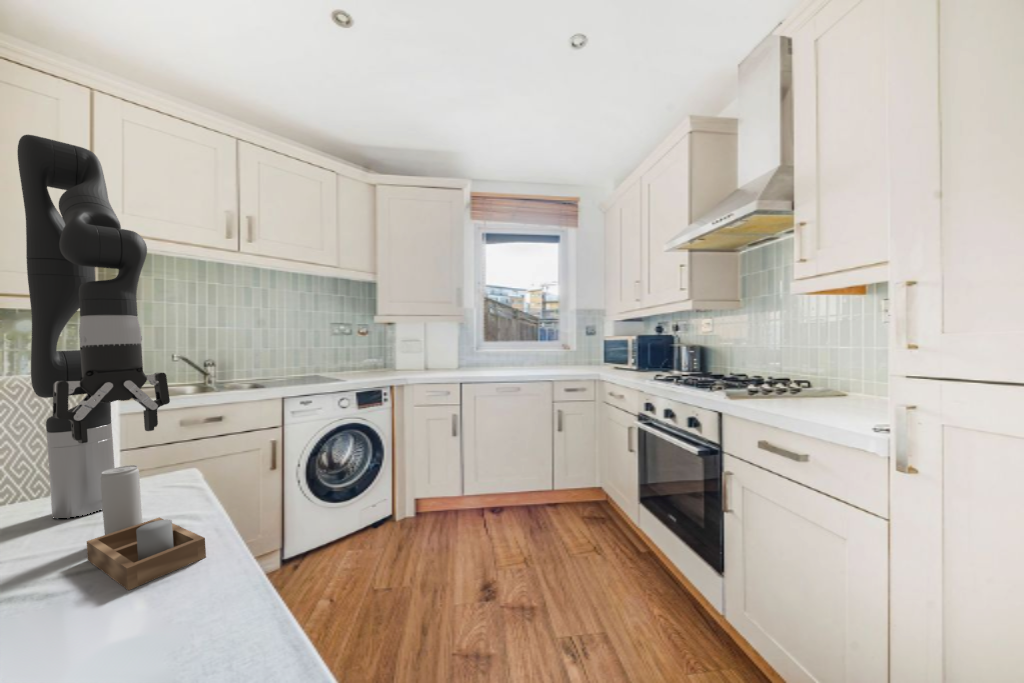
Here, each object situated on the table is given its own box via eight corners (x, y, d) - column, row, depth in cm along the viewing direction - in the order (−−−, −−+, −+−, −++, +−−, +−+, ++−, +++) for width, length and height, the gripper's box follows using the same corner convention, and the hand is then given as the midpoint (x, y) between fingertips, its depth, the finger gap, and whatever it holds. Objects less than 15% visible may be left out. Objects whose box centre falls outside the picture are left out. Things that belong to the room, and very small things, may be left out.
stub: (134, 568, 60) (131, 528, 60) (167, 555, 63) (165, 517, 63) (145, 575, 58) (142, 534, 58) (179, 561, 61) (176, 522, 61)
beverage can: (119, 546, 67) (114, 474, 67) (96, 544, 68) (92, 474, 68) (150, 532, 72) (146, 465, 72) (129, 530, 73) (124, 464, 73)
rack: (87, 560, 63) (86, 541, 63) (160, 534, 71) (159, 517, 71) (128, 590, 54) (126, 568, 54) (206, 557, 62) (204, 537, 62)
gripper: (155, 342, 78) (160, 426, 78) (43, 345, 65) (50, 445, 66) (171, 340, 74) (177, 428, 74) (56, 343, 61) (63, 449, 62)
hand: (117, 436), depth 70 cm, fingers open, 8 cm apart
